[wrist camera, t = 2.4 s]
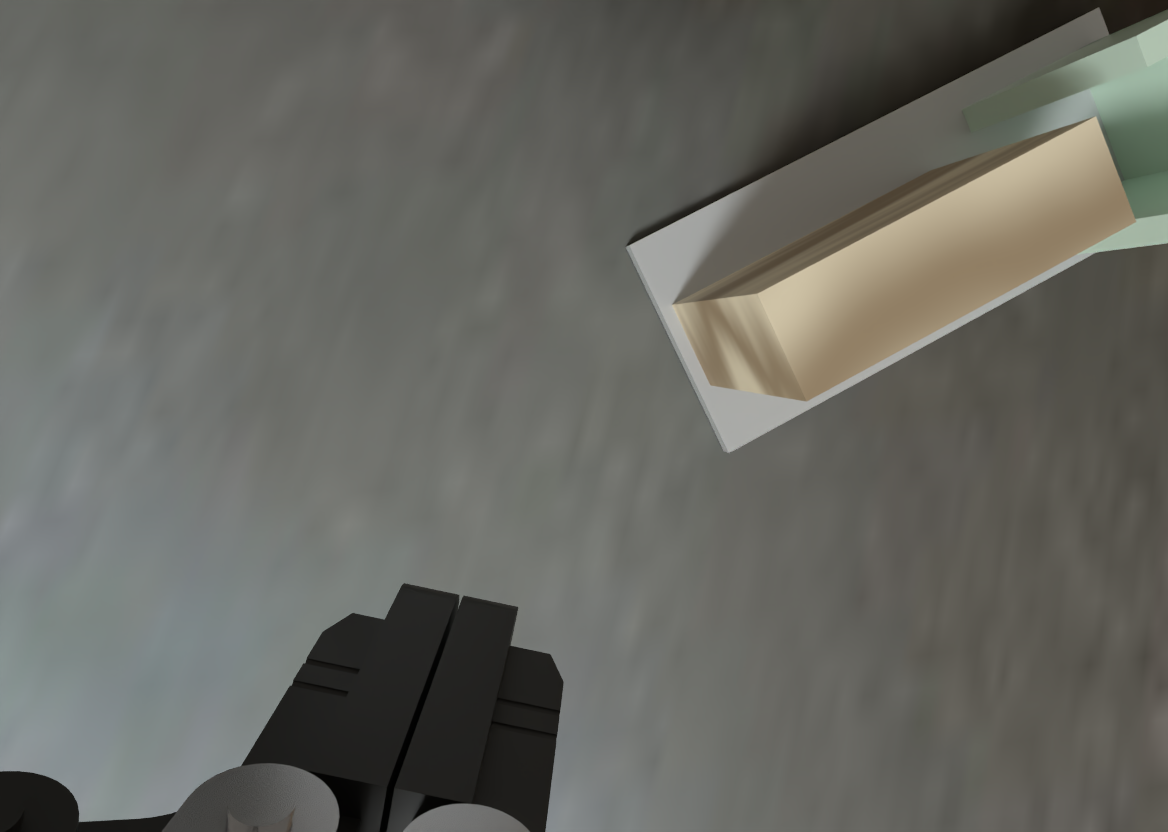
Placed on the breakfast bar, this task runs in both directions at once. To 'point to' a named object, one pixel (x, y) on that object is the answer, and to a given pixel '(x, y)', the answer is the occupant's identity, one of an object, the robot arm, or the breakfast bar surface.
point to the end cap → (1110, 115)
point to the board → (846, 209)
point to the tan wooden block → (906, 264)
